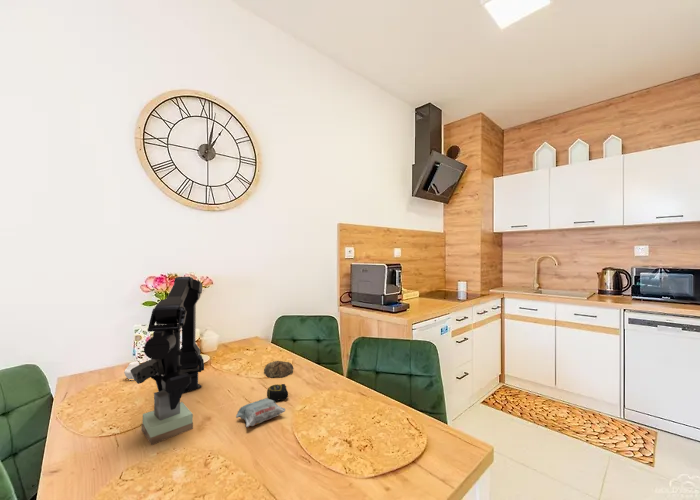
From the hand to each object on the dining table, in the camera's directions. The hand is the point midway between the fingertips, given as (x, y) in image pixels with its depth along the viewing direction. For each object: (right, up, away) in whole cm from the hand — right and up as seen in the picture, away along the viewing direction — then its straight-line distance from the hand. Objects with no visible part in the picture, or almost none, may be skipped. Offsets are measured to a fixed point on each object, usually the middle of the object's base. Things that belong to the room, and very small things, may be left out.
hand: (167, 403), depth 84 cm
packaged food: (+25, -8, +5) cm, 27 cm away
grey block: (0, -3, 0) cm, 3 cm away
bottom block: (0, -8, 0) cm, 8 cm away
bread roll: (+21, -9, +42) cm, 48 cm away
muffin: (-35, -9, +35) cm, 51 cm away
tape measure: (+27, -8, +19) cm, 34 cm away
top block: (0, -5, 0) cm, 5 cm away
